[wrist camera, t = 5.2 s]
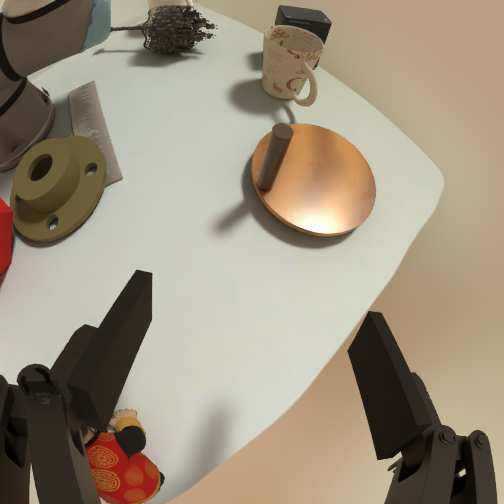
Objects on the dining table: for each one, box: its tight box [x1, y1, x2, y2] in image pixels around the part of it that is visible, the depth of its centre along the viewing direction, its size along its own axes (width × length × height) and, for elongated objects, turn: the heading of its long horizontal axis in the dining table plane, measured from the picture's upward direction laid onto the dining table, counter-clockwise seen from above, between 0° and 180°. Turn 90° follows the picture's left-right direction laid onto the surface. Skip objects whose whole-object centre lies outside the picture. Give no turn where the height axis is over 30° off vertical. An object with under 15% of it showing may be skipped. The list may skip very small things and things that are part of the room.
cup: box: [148, 0, 193, 23], centre depth 39 cm, size 8×12×10 cm
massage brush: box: [110, 5, 218, 53], centre depth 36 cm, size 9×22×9 cm
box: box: [275, 5, 332, 68], centre depth 38 cm, size 8×6×11 cm
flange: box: [10, 135, 107, 242], centre depth 27 cm, size 5×15×15 cm
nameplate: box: [68, 81, 123, 187], centre depth 33 cm, size 23×1×5 cm
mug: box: [262, 25, 324, 106], centre depth 35 cm, size 8×13×10 cm, turn 23°
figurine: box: [80, 409, 165, 504], centre depth 19 cm, size 10×10×15 cm
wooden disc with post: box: [251, 123, 376, 236], centre depth 29 cm, size 16×16×10 cm
